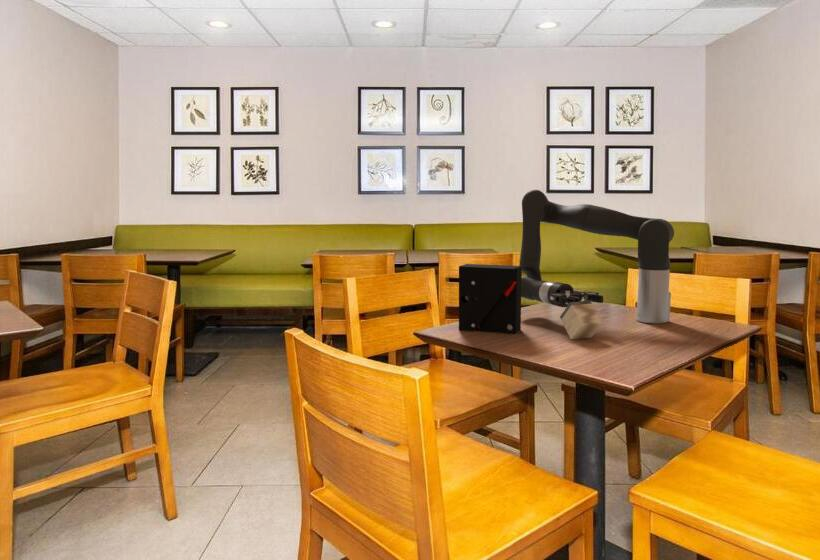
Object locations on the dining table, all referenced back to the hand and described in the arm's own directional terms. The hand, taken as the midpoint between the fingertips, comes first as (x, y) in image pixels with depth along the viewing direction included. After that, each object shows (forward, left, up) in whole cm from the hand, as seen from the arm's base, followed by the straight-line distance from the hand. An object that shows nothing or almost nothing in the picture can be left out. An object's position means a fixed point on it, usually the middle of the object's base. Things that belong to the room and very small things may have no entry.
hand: (590, 300), depth 161 cm
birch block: (+4, -2, -2) cm, 5 cm away
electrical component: (+23, -19, -11) cm, 31 cm away
